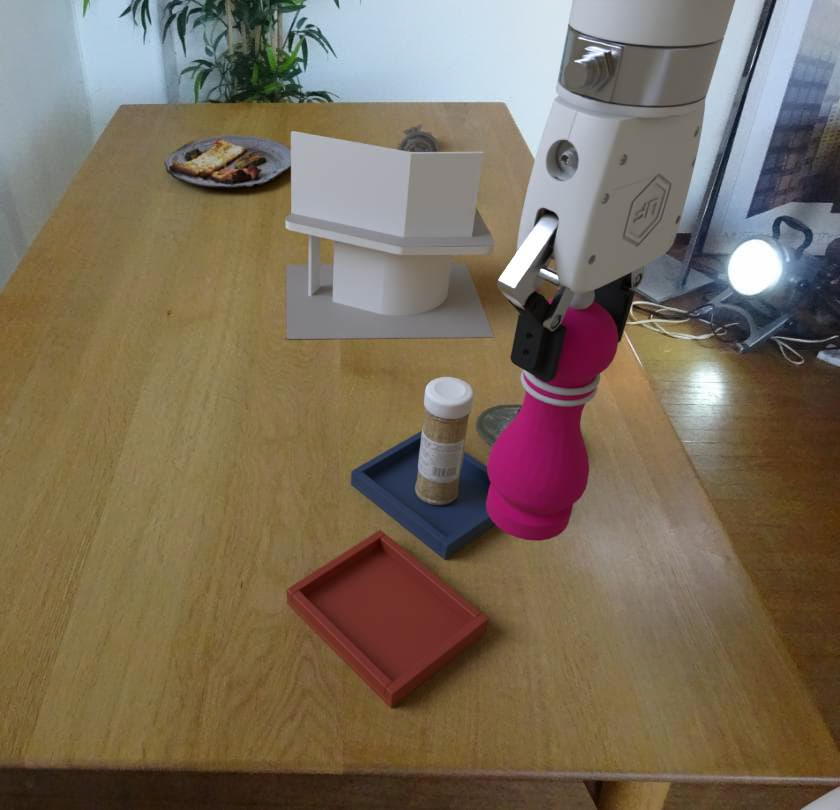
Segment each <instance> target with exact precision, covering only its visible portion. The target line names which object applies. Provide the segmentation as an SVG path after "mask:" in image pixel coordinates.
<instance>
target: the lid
mask: <svg viewBox="0 0 840 810" xmlns="http://www.w3.org/2000/svg"><path fill="white" fill-rule="evenodd" d="M522 405H523V404H498V405H495V406H492V407H491V406H490V407H489V408H486V409H485V410H484V411H482V412H481V413H480V414H479V415H478V416H477V418H476V421H475V428H476V432H477V434H478V436H479V437H480V438H481V439H482V440H483V442H485V443H486V444H487V445H489V446H491V448H492V447H493V445H494V443H495V442H496V440H497V438H498V437H499V435H500V434H501V433H502V432H503V430H504V429H505V428H506V427H507V426H508V425H509V424H510V423H511V422H512V421H513V420H514V418H515V417H516V416H517V414H518V413H519V411H520V409H521V407H522Z"/></svg>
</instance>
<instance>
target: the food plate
mask: <svg viewBox="0 0 840 810" xmlns="http://www.w3.org/2000/svg"><path fill="white" fill-rule="evenodd" d="M164 166H165V171H166V173H168V174H169V175H171V177H172V178H174V179H178V180H179V181H182V182H186V183H189V184H192V185H194V186H195V187H202V188H203V187H205V188H227V189H235V188H239V189H240V188H243V190H245V189H246V188H251V187H253V186H254V185H256V184H257V186H258V185H259V186H261V185H263V184H265V183H267V182H268V181H271V180H274V179H275V178H276V177H278V176H280V175H282V173H283V172H285V171H287V170H288V169H289V168H291V148H289V147H288V146H286V145H285V144H283V143H280V142H279V141H277V140H274V139H272V138H271V139H269V138H265V137H258V136H256V135H255V136H254V135H238V134H237V135H236V134H233V135H231V134H229V135H228V134H227V135H225V134H224V135H217V136H216V135H215V136H210V137H205V138H203V139H197V140H191V141H189V142H187V143H185V144H183V145H181V146H180V147H178V148H177V149H176V150H174V151H172V152H171V153H170V154H168V156H166V158H165V160H164Z"/></svg>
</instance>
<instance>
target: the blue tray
mask: <svg viewBox="0 0 840 810" xmlns="http://www.w3.org/2000/svg"><path fill="white" fill-rule="evenodd" d="M421 435H422V430H421V431H418V432H417V433H415V434H413V435H412V436H410V437H408V438H406V439H404V440H403V441H401V442H400V443H398V444H396V445H394V446H393V447H391V448H389V449H387V450H385V451H383V452H382V453H380V454H379V455H377V456H375V457H373V458H372V459H370V460H368V461H366V462H364V463H363V464H361V465H359V466H358V467H356V468H354V469H352V470H351V471H350V472H351V473H350V485H351V486H352V487H353V488H354V489H356V490H357V491H358V492H359V493H360V494H362V496H364V497H366V499H368V500H369V501H370V502H372V503H373V504H374V505H375V506H377V507H378V508H379V509H381V510H382V511H383V512H384V513H386V515H388V516H389V517H390V518H392V519H393V520H394V521H395V522H397V523H398V524H399V525H400V526H402V527H403V528H404V529H405V530H407V531H408V532H409V533H411V534H412V535H413V536H414V537H415V538H417V539H418V540H419V541H421V542H422V543H423V544H425V545H426V546H427V547H428V548H429V549H430V550H432V551H433V552H434V553H435V554H437V555H438V556H440V558H442V559H443V560H447V559H449V558H450V557H451V556H453V555H454V554H456V553H457V552H459V551H460V550H461V549H463V548H464V547H466V546H467V545H469V544H470V543H471V542H473V541H474V540H476V539H478V537H480V536H481V535H483V534H484V533H486V532H487V531H489V530H490V529H492V528H493V527H495V526H497V525H496V524H495V523H494V522H493V521H492V520H491V518H490V516H489V515H488V512H487V508H486V502H487V496H488V491H489V486H490V484H491V482H490V480H489V477H488V472H487V465H485V464H484V463H482V462H481V461H479V460H478V459H477V458H475V457H474V456H472V455H471V454H469V453H468V452H466V451H465V450H464V457H463V463H462V469H461V472H460V477H459V484H458V496H457V498H456V499H455V500H454V501H453V502H451V503H449V504H446V505H431V504H428V503H426V502H424V501H423V500H421V499H420V498H419V497H418V496H417V494H416V492H415V485H416V482H417V475H418V461H419V453H420V444H421Z"/></svg>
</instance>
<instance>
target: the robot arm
mask: <svg viewBox="0 0 840 810" xmlns="http://www.w3.org/2000/svg"><path fill="white" fill-rule="evenodd" d="M735 3H736V0H572V2H571V8H570V13H569V16H568V17H569V18H568V24H567V29H566V34H565V39H564V43H563V49H562V50H563V51H562V54H561V60H560V65H559V70H558V74H557V75H558V77H557V81H556V86H555V92H556V93H557V95H558V96H556V97H555V98H554V99H553V102H552V105H551V108H550V111H549V114H548V117H547V118H546V119H547V120H546V121H545V122H546V123H545V126H544V128H543V131H542V135H541V138H540V141H539V145H538V147H537V151H536V155H535V158H534V163H533V166H532V170H531V174H530V177H529V181H528V184H527V190H526V194H525V197H524V202H523V207H522V212H521V217H520V222H519V226H518V227H519V228H518V234H517V242H516V253H515V255H514V256H513V258H512V259H511V260H510V262H509V263H508V265H507V266H506V268H505V269H504V270H503V271H502V273H501V275H500V276H499V278H498V280H497V282H496V287H497V289H498V290H499V291H500V293H502V295H503V296H504V297H505V298H506V299H508V300H507V301H508V303H510V304H511V306H512V307H513V312H514V313H516V314H518V317H517V322H516V327H515V332H514V336H513V342H512V347H511V352H510V361H511V363H512V364H513V365H515V366H516V367H518V368H520V369H522V371H523V370H525V371H527V372H529V373H530V374H532V375H534V376H535V377H537V378H539V379H540V380H542V381H544V382H550V381H551V380H553V379H554V378H555V377H556V373H557V369H558V365H559V360H560V356H561V352H562V348H563V344H564V340H565V335H566V331H567V327H565V326H563V325H562V324H561V323H562V320H563V318H564V316H565V314H566V312H567V310H568V308H569V305H570V303H571V301H572V299H573V297H574V295H575V293H577V294H583V293H587V292H590V291H593V290H594V293H595V297H594V301H593V302H595V303H597V304H599V305H600V306H601V307H603V308H604V309H605V310H606V311H607V312H608V313H609V314H610V315H611V316H612V318H613V320H614V322H615V324H616V326H617V332H618V344H619V343H621V342H622V339H623V335H624V332H625V329H626V326H627V322H628V318H629V315H630V311H631V308H632V304H633V301H634V300H633V299H634V297H635V294H636V292H635V291H633V290H636V289H637V288H638V287H639V286H640V285H641V283H642V282H643V279H644V276H645V275H644V274H645V266H646V265H648V264H650V263H652V262H654V261H656V260H658V259H659V258H661V257H662V256H664V255H665V254H666V253H667V252H668V251H669V250H671V248H672V246H673V245H674V243H675V240H676V238H677V234H678V231H679V227H680V224H681V220H682V217H683V213H684V210H685V206H686V202H687V198H688V194H689V190H690V186H691V182H692V178H693V175H694V170H695V166H696V161H697V156H698V152H699V147H700V142H701V137H702V132H703V125H704V119H705V118H704V117H705V110H706V99H707V96H708V92H709V89H710V85H711V82H712V79H713V76H714V72H715V69H716V66H717V63H718V60H719V57H720V53H721V49H722V47H723V43H724V40H725V35H726V32H727V29H728V26H729V23H730V19H731V17H732V13H733V9H734V6H735ZM552 260H553V261H554V264H555V265H554V266H555V269H554V268H552V267H550V266H549V265H550V263H551V261H552ZM545 281H546V282H548V283H550V284H552V285H554V286H556V287H557V289H556V291H555V293H554V296H553V298H552V299H553V300H552V302H551V305H550V303H549V302H548V299H547V298H546V297H545V296H544V295H543V294H541V293H540V291H541V289H542V286H543V284H544V282H545ZM800 810H840V786H838V787H836V788H834V789H832V790H830V791H829V792H827V793H825V794H823V795H821V796H820V797H818V798H817V799H815V800H813V801H811V802H810V803H809V804H807V805H805V806H803V807H802V808H801V809H800Z"/></svg>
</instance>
